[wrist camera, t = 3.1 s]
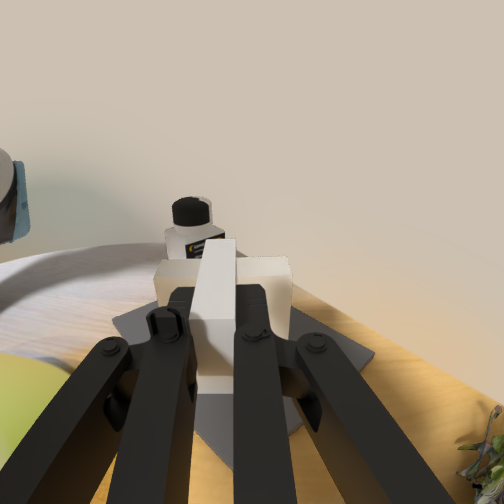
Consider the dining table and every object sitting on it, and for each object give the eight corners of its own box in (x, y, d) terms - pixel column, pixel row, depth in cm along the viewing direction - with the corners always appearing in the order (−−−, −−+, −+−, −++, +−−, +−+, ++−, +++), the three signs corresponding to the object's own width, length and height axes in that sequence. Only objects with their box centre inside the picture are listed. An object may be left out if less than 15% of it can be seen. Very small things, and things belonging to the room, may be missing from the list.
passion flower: (467, 539, 13) (491, 581, 5) (414, 476, 21) (419, 497, 12) (549, 457, 13) (607, 454, 5) (497, 396, 21) (540, 369, 12)
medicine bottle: (190, 285, 47) (181, 210, 42) (168, 268, 52) (160, 200, 47) (227, 270, 51) (224, 199, 46) (204, 256, 56) (199, 190, 51)
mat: (113, 323, 38) (111, 318, 38) (230, 274, 50) (230, 270, 50) (236, 474, 20) (235, 470, 20) (373, 357, 32) (375, 352, 32)
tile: (283, 391, 28) (292, 275, 22) (179, 393, 28) (153, 278, 22) (280, 368, 31) (286, 255, 25) (183, 369, 30) (162, 258, 25)
